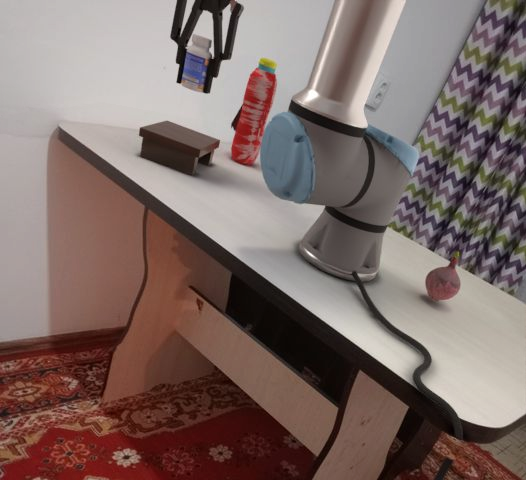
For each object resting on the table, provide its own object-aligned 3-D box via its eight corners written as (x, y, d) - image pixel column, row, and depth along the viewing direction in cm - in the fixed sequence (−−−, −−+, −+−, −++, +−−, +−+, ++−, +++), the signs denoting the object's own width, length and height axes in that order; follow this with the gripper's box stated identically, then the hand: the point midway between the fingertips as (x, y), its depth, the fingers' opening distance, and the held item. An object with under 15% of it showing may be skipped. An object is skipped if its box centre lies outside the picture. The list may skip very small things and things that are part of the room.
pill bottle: (203, 94, 98) (214, 42, 93) (178, 85, 97) (187, 32, 92) (206, 91, 103) (217, 41, 97) (182, 83, 102) (192, 32, 96)
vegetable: (423, 289, 89) (450, 242, 83) (452, 305, 86) (481, 258, 81) (411, 296, 84) (439, 246, 79) (442, 313, 82) (472, 263, 76)
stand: (194, 177, 103) (200, 149, 99) (135, 155, 103) (139, 127, 99) (214, 164, 116) (220, 140, 113) (162, 145, 116) (166, 120, 113)
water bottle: (215, 150, 128) (238, 47, 115) (237, 153, 134) (262, 55, 120) (239, 166, 122) (268, 60, 108) (262, 169, 127) (292, 67, 113)
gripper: (268, -26, 90) (237, 101, 103) (180, -59, 90) (160, 72, 103) (260, -33, 84) (228, 103, 97) (166, -69, 84) (146, 73, 97)
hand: (193, 87), depth 100 cm, fingers closed on pill bottle, 5 cm apart
